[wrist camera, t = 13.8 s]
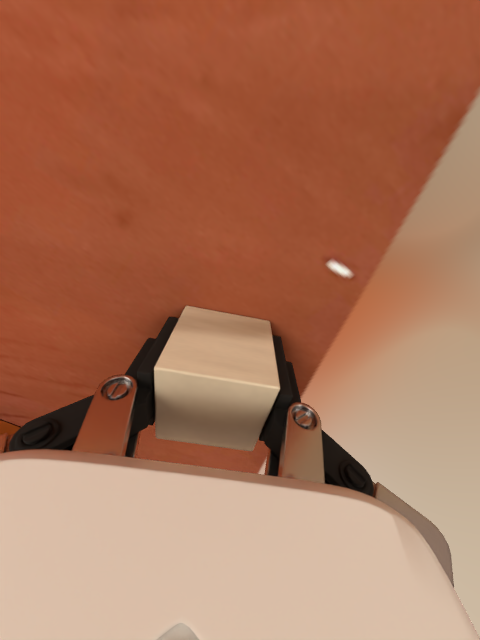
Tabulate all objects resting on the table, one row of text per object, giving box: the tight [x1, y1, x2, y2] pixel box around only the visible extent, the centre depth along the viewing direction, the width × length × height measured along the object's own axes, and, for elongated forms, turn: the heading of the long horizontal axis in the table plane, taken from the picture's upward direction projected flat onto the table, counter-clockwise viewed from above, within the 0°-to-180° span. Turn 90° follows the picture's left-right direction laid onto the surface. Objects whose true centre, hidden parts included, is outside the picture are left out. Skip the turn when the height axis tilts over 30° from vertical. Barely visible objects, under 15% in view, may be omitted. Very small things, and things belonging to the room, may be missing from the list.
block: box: [154, 306, 280, 451], centre depth 10 cm, size 4×4×4 cm
